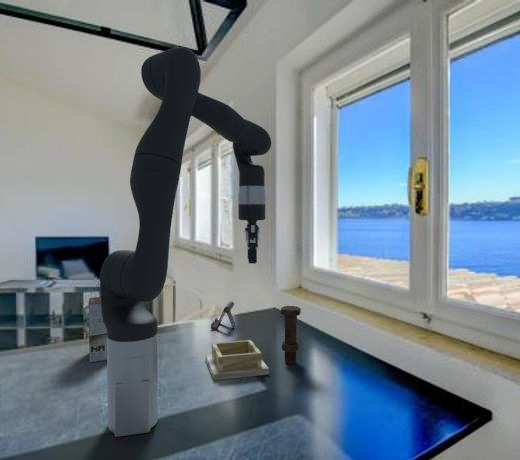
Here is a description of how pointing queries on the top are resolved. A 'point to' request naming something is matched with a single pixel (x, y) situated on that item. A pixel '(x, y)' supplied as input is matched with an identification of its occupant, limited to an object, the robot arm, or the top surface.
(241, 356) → the board
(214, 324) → the portable electronic device stand
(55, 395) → the top surface
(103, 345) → the coffee box
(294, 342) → the bolt
